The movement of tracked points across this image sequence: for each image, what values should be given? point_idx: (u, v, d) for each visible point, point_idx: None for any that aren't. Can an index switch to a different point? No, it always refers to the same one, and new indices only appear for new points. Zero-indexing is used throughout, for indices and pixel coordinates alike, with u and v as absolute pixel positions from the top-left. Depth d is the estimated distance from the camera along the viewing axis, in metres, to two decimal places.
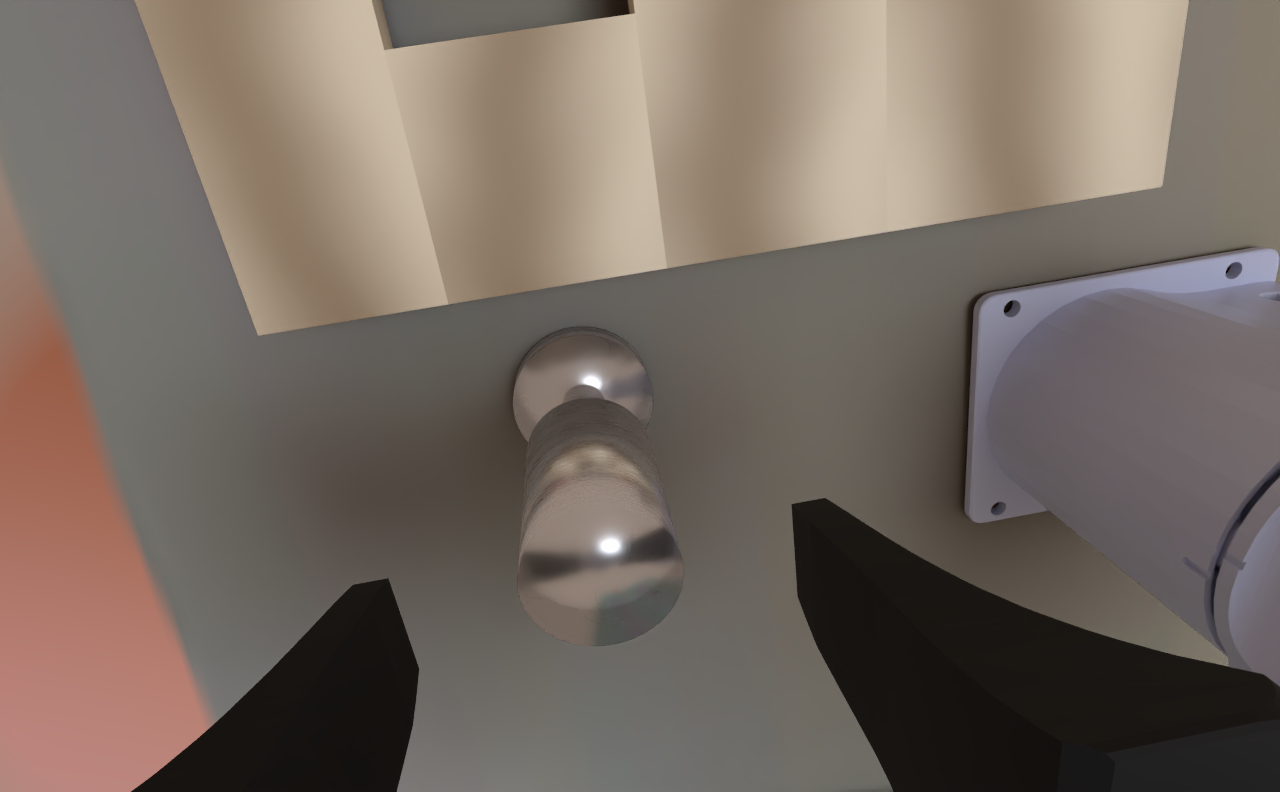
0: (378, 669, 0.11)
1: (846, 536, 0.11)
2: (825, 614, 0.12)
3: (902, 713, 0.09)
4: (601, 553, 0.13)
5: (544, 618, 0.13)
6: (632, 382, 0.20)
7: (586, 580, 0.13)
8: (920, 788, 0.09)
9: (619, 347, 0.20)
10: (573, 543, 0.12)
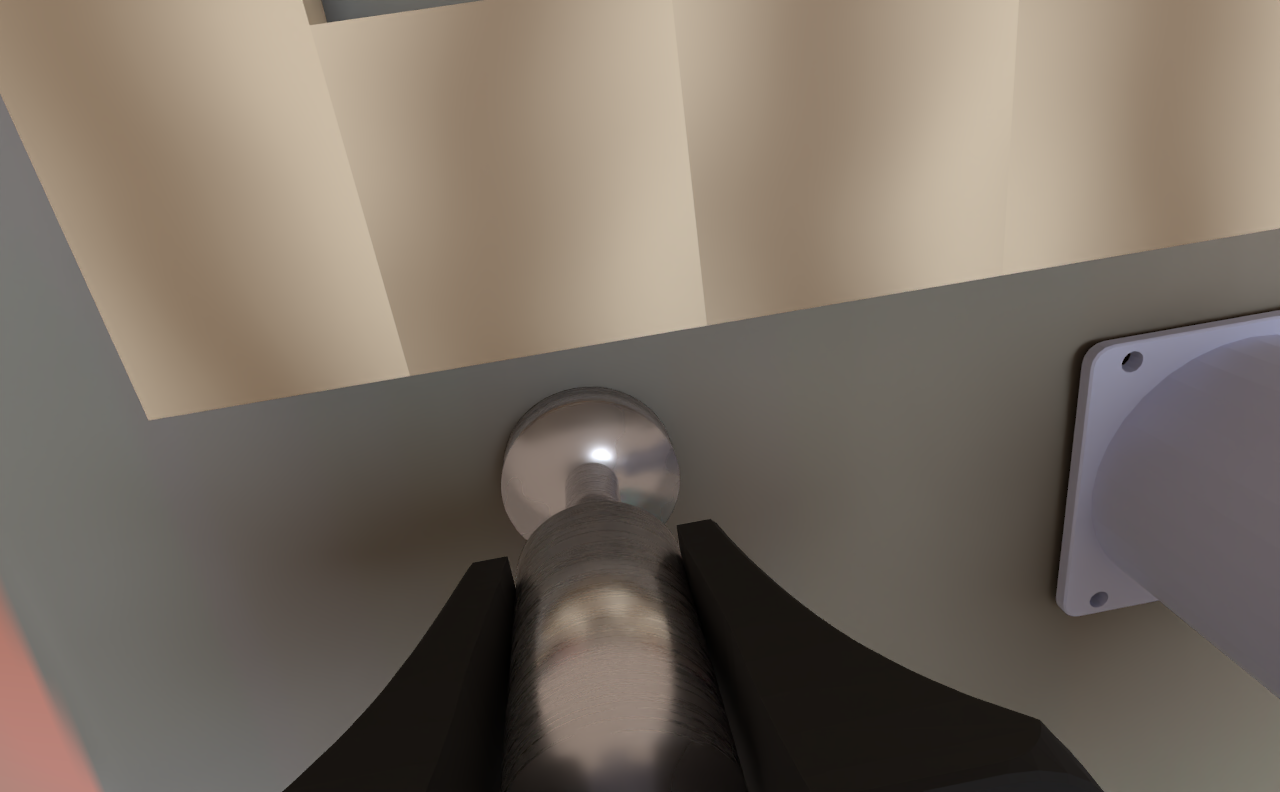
0: (509, 644, 0.11)
1: (713, 561, 0.11)
2: None
3: (748, 744, 0.09)
4: None
5: None
6: (653, 459, 0.16)
7: None
8: None
9: (638, 417, 0.15)
10: (584, 784, 0.08)
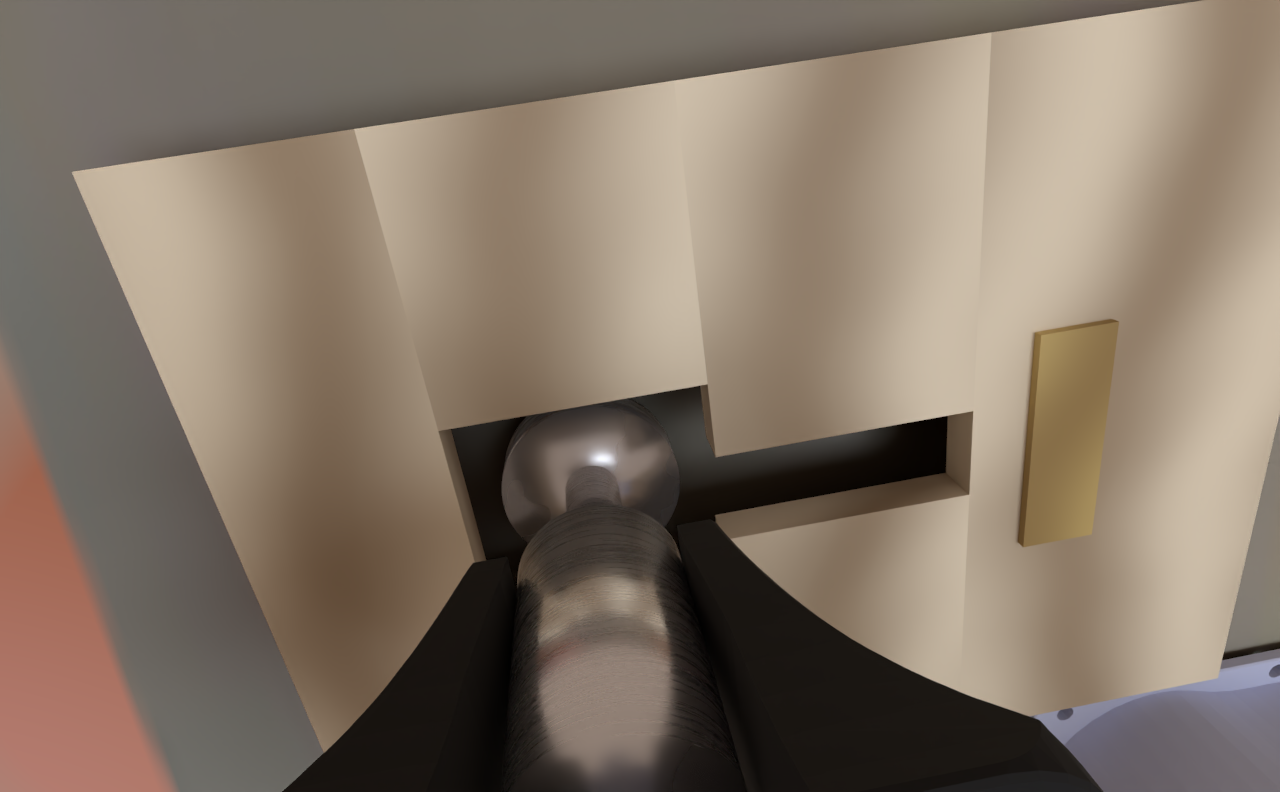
0: (508, 645, 0.11)
1: (713, 561, 0.11)
2: None
3: (748, 744, 0.09)
4: None
5: None
6: (654, 462, 0.16)
7: None
8: None
9: (639, 420, 0.15)
10: (584, 786, 0.08)
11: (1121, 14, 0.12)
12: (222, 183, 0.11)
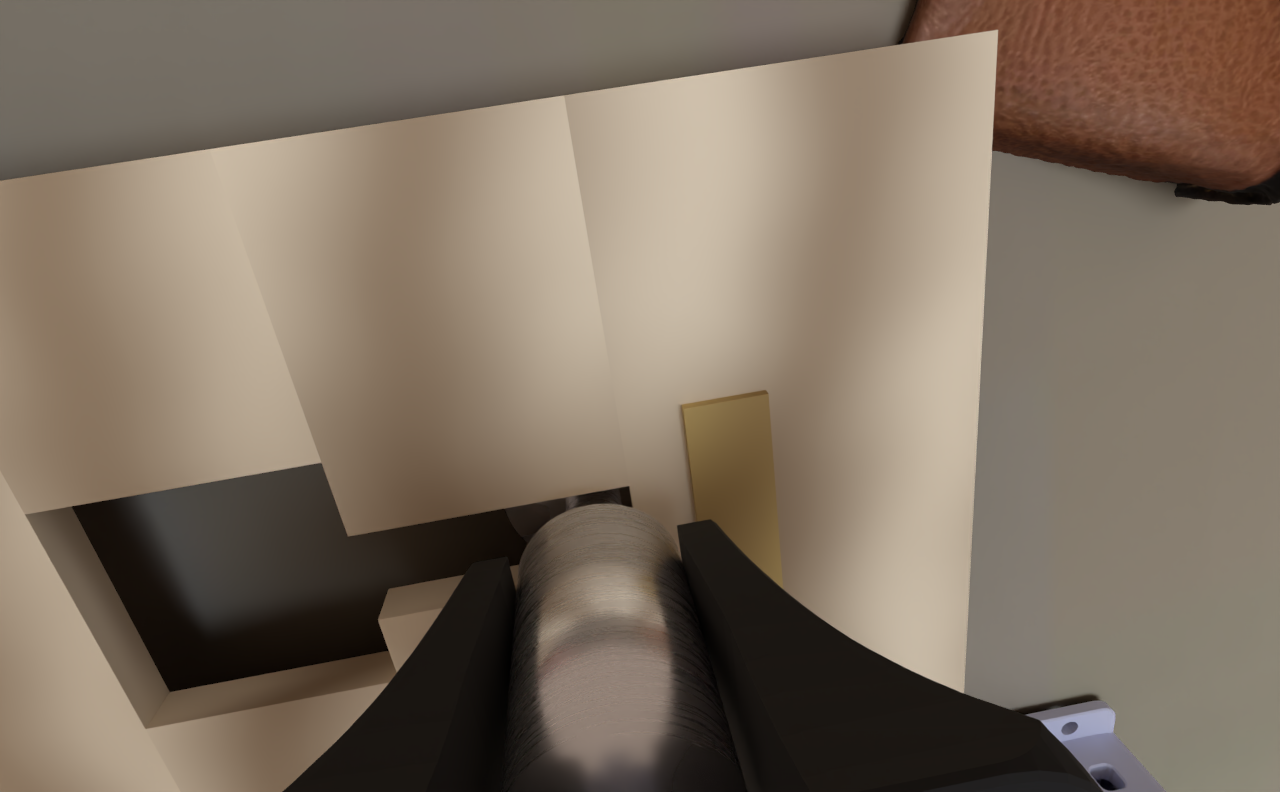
0: (509, 644, 0.11)
1: (713, 561, 0.11)
2: None
3: (748, 745, 0.09)
4: None
5: None
6: None
7: None
8: None
9: None
10: (584, 785, 0.08)
11: (709, 75, 0.11)
12: None
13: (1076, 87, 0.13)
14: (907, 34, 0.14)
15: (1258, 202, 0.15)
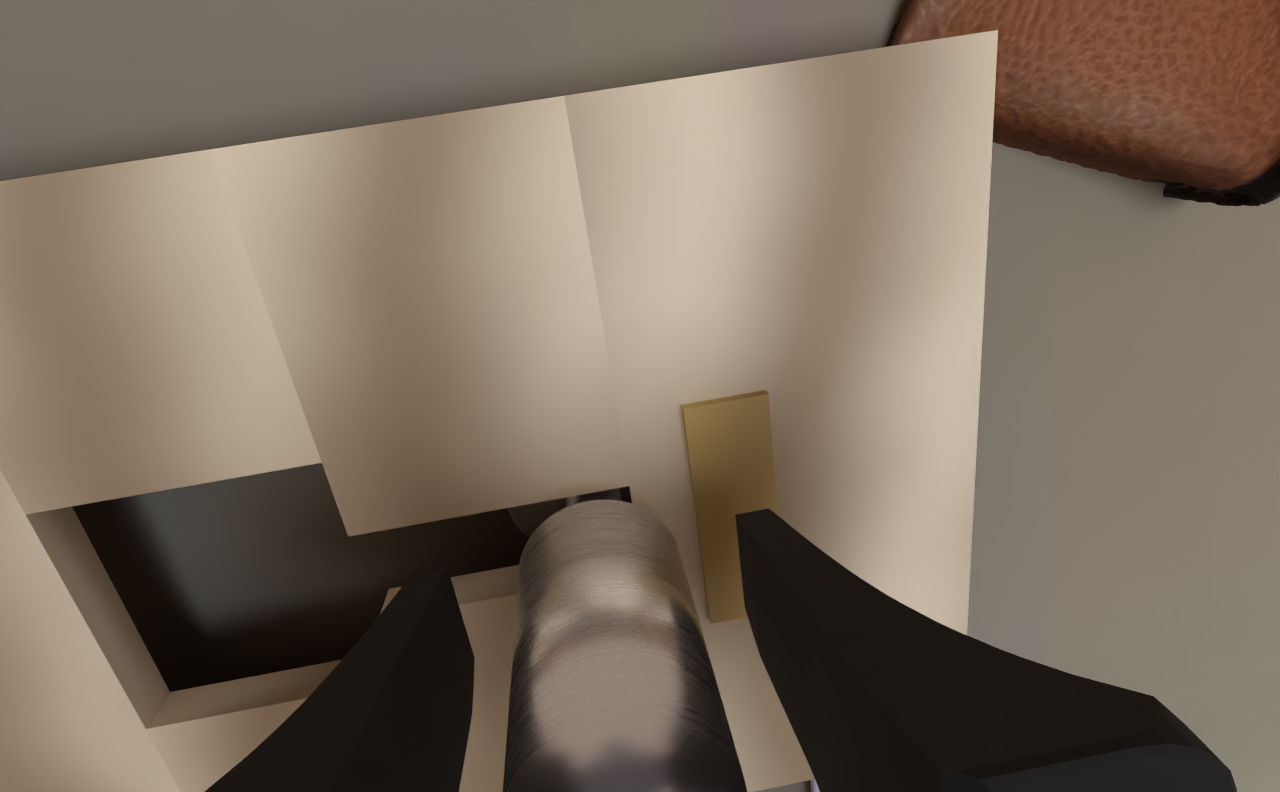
0: (444, 657, 0.11)
1: (781, 548, 0.11)
2: (765, 624, 0.11)
3: (826, 728, 0.09)
4: (627, 785, 0.08)
5: None
6: None
7: None
8: None
9: None
10: (585, 774, 0.08)
11: (709, 75, 0.11)
12: None
13: (1069, 76, 0.13)
14: (903, 16, 0.14)
15: (1247, 203, 0.15)
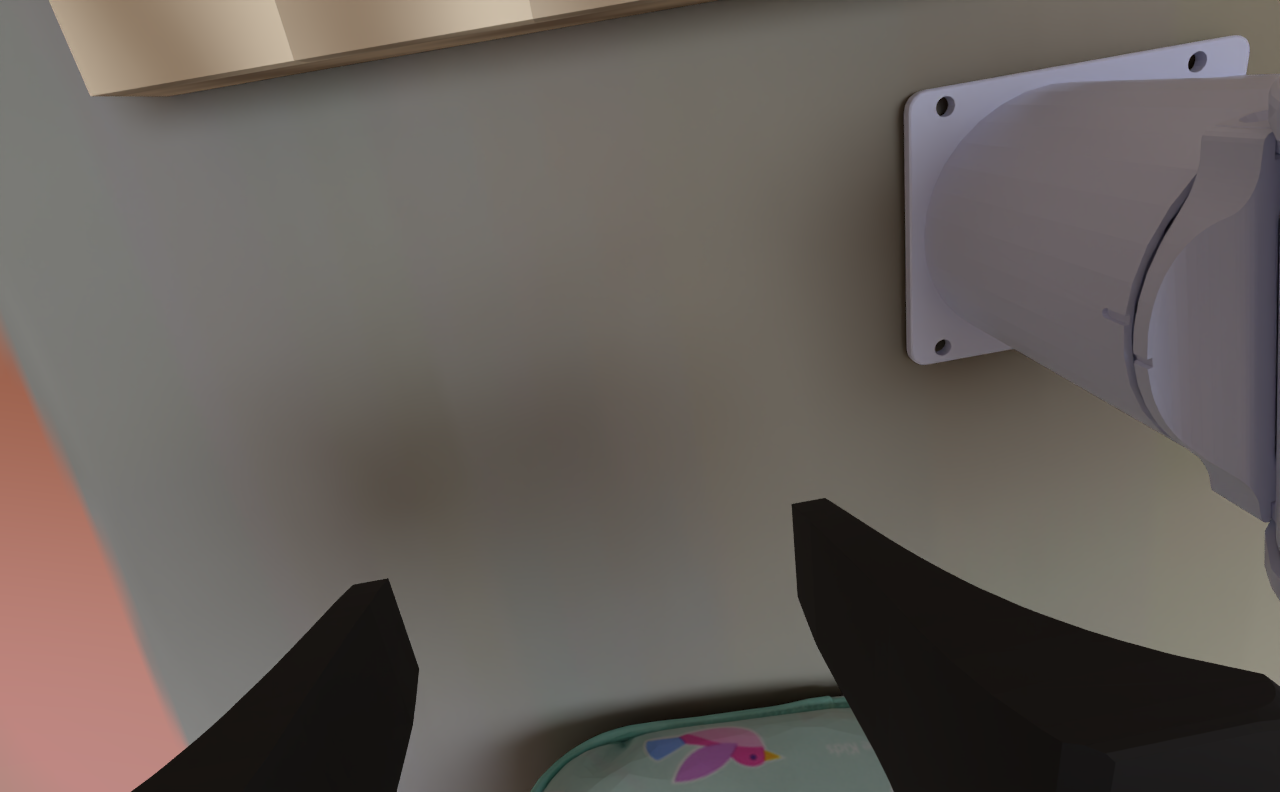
0: (378, 669, 0.11)
1: (846, 536, 0.11)
2: (826, 614, 0.11)
3: (902, 713, 0.09)
4: None
5: None
6: None
7: None
8: (920, 788, 0.09)
9: None
10: None
11: None
12: None
13: None
14: None
15: None
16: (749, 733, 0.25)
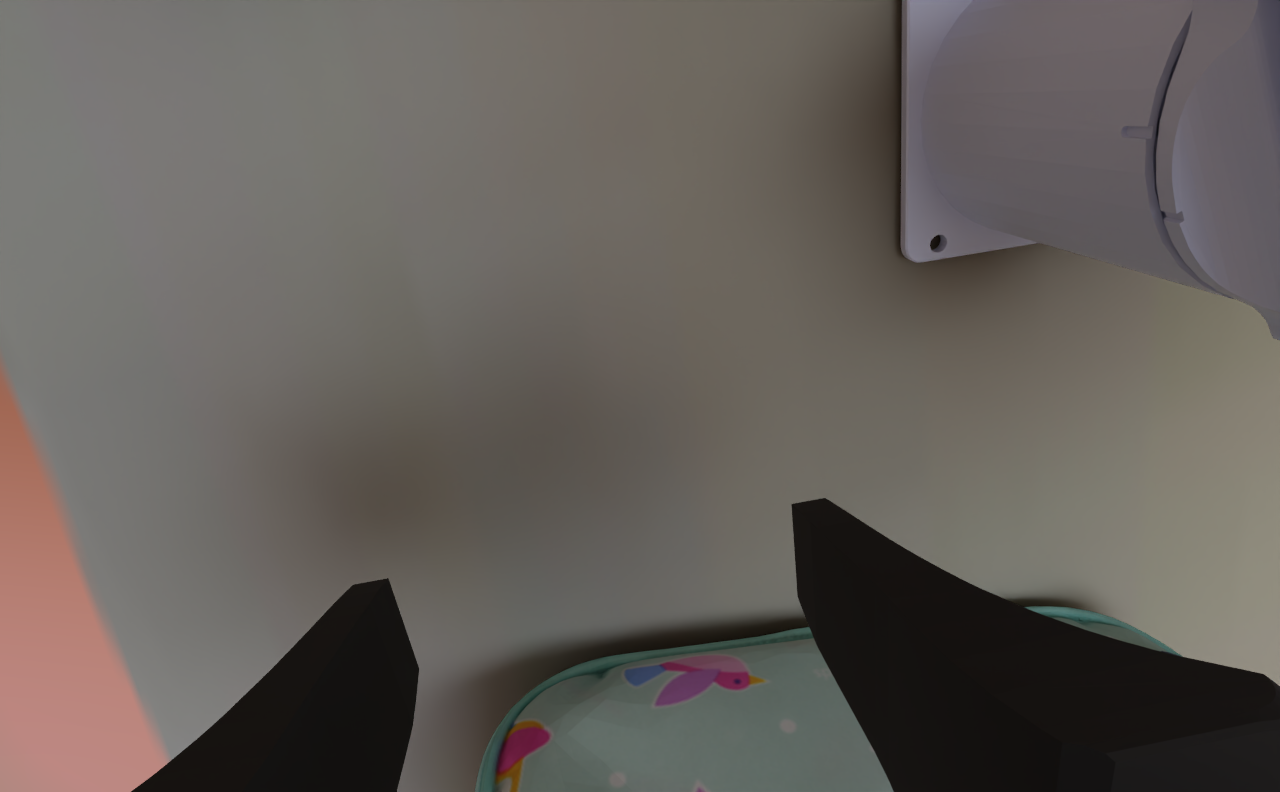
0: (378, 669, 0.11)
1: (846, 536, 0.11)
2: (825, 614, 0.12)
3: (902, 714, 0.09)
4: None
5: None
6: None
7: None
8: (920, 788, 0.09)
9: None
10: None
11: None
12: None
13: None
14: None
15: None
16: (732, 660, 0.24)
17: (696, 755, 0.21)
